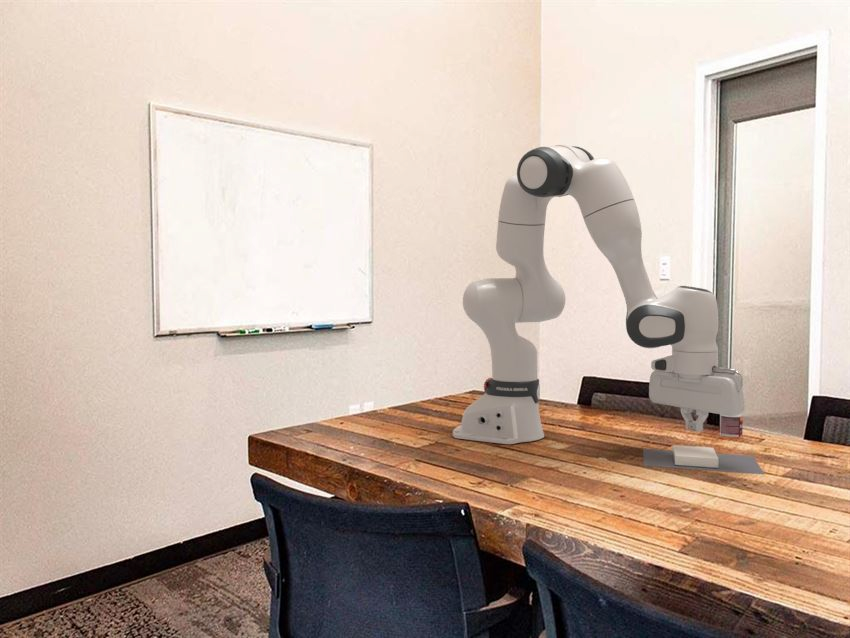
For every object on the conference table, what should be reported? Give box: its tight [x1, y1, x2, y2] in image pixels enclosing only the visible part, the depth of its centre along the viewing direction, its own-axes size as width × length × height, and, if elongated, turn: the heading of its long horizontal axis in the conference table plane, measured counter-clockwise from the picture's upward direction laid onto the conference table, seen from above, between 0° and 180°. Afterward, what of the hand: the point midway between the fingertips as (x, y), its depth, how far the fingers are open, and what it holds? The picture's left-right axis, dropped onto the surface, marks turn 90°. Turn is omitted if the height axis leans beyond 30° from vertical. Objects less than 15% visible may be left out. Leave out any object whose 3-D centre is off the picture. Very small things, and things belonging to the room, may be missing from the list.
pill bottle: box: [719, 414, 744, 441], centre depth 153 cm, size 5×5×8 cm
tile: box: [672, 444, 718, 468], centre depth 133 cm, size 8×2×9 cm
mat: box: [642, 448, 765, 476], centre depth 134 cm, size 22×14×1 cm, turn 72°
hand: (694, 430), depth 135 cm, fingers closed
